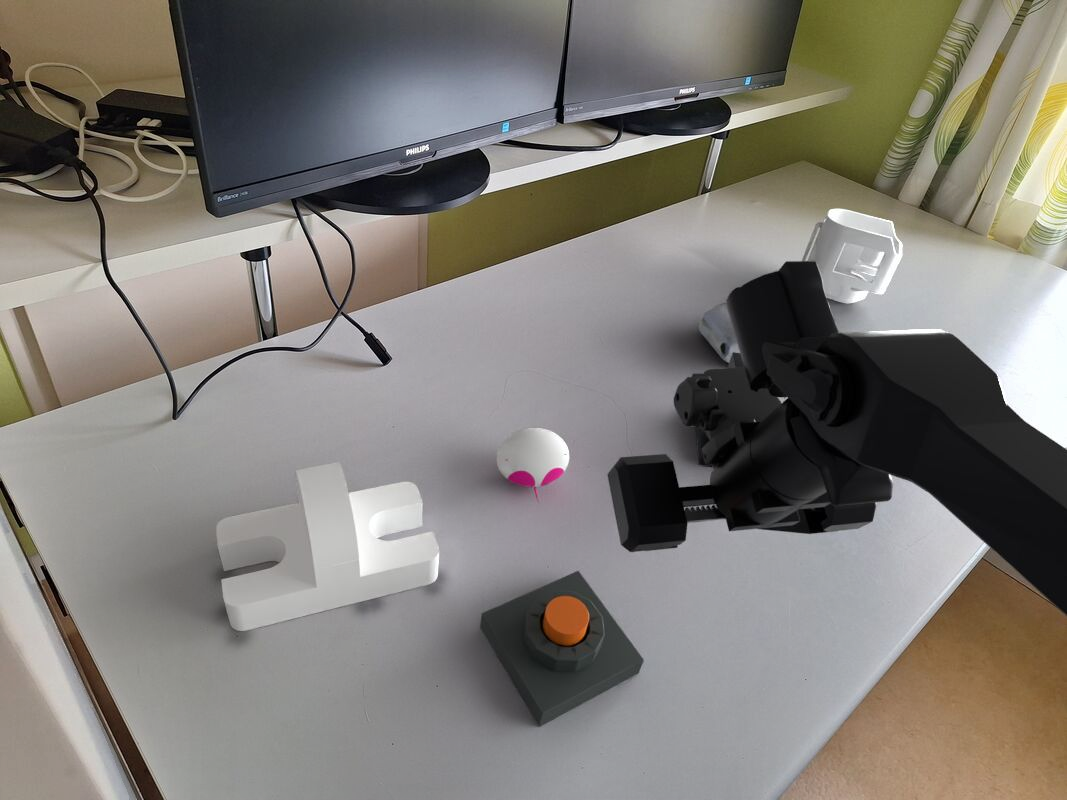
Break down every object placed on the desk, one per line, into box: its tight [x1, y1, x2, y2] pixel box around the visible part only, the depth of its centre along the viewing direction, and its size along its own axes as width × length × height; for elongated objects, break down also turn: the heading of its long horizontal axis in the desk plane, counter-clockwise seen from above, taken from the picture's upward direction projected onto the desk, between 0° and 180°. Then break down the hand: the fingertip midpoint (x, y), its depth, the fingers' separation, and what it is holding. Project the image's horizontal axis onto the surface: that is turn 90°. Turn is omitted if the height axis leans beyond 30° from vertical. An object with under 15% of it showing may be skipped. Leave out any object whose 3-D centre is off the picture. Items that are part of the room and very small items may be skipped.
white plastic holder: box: [801, 208, 903, 304], centre depth 113 cm, size 7×12×12 cm, turn 69°
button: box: [543, 596, 589, 646], centre depth 62 cm, size 4×4×2 cm
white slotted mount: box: [215, 461, 440, 632], centre depth 66 cm, size 10×18×11 cm, turn 112°
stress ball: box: [496, 427, 570, 505], centre depth 79 cm, size 8×8×7 cm
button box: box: [479, 570, 645, 727], centre depth 64 cm, size 10×10×4 cm
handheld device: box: [698, 302, 740, 364], centre depth 103 cm, size 10×20×5 cm, turn 110°
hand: (698, 526), depth 61 cm, fingers open, 9 cm apart
